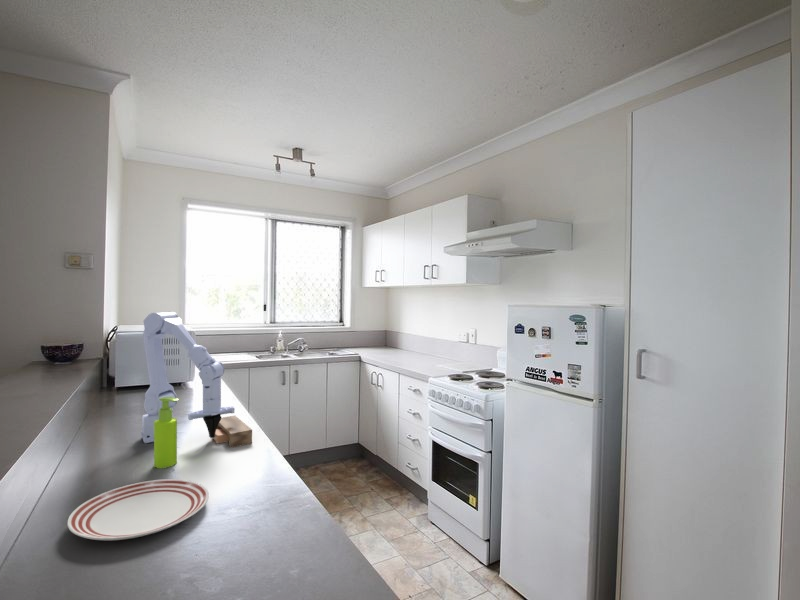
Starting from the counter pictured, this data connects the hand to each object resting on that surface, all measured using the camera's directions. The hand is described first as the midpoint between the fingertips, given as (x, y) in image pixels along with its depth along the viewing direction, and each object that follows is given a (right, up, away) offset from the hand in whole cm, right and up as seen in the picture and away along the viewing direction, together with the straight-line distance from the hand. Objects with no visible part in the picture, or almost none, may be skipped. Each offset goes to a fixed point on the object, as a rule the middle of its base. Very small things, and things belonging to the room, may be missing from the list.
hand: (211, 436), depth 145 cm
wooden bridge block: (+5, -1, +4) cm, 6 cm away
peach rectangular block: (+4, -1, +3) cm, 5 cm away
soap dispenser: (-5, -2, -20) cm, 20 cm away
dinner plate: (+6, -3, -48) cm, 49 cm away
